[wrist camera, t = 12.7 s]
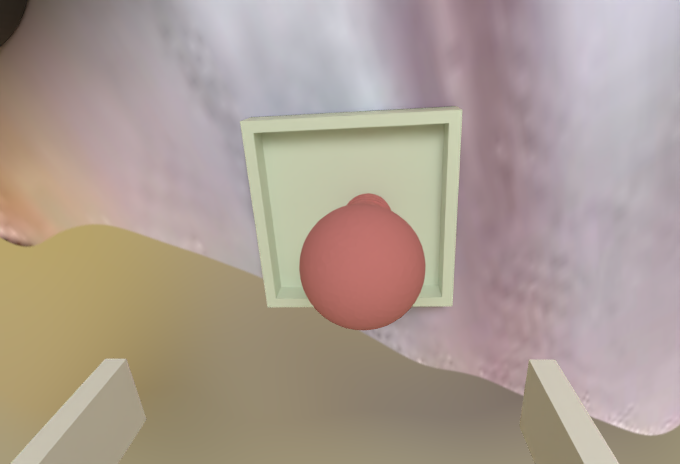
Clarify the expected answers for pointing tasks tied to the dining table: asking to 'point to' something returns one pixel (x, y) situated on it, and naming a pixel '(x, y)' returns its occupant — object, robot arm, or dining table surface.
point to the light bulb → (362, 265)
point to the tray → (353, 185)
